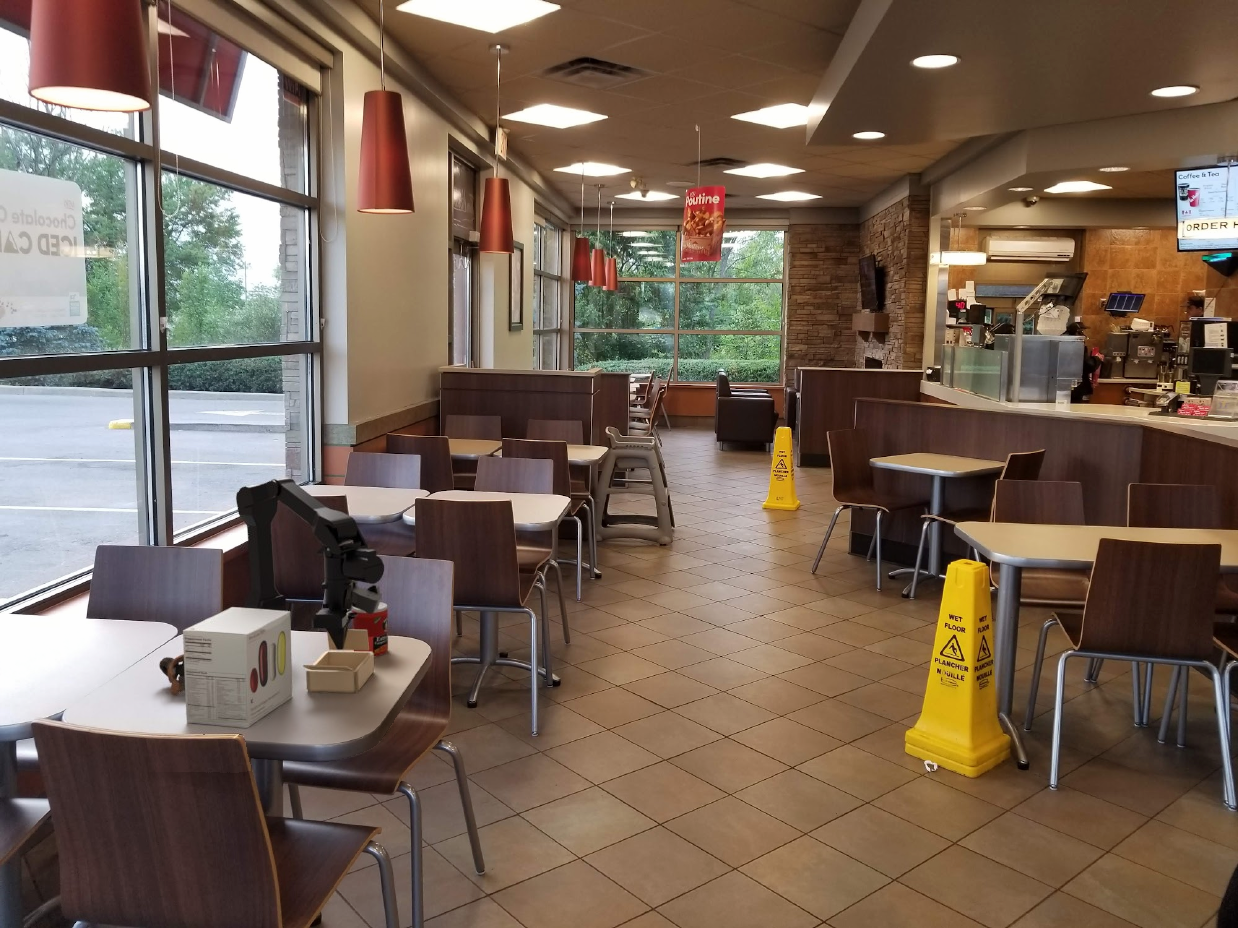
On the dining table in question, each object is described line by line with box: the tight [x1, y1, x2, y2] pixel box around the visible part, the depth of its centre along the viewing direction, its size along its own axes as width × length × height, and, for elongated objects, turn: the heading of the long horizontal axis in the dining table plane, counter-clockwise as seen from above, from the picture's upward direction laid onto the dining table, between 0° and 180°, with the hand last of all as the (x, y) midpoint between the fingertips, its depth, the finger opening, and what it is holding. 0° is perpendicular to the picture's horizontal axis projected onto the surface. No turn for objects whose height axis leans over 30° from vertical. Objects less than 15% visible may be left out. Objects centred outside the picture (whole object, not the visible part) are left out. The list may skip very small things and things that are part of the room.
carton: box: [305, 650, 375, 694], centre depth 208 cm, size 11×13×4 cm
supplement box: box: [182, 606, 293, 729], centre depth 191 cm, size 17×13×18 cm
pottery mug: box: [158, 653, 185, 696], centre depth 203 cm, size 12×10×8 cm
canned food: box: [351, 601, 389, 657], centre depth 227 cm, size 8×8×11 cm
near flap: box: [302, 664, 353, 671], centre depth 199 cm, size 9×5×1 cm, turn 89°
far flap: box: [326, 628, 369, 651], centre depth 213 cm, size 9×5×1 cm
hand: (340, 649), depth 207 cm, fingers closed
